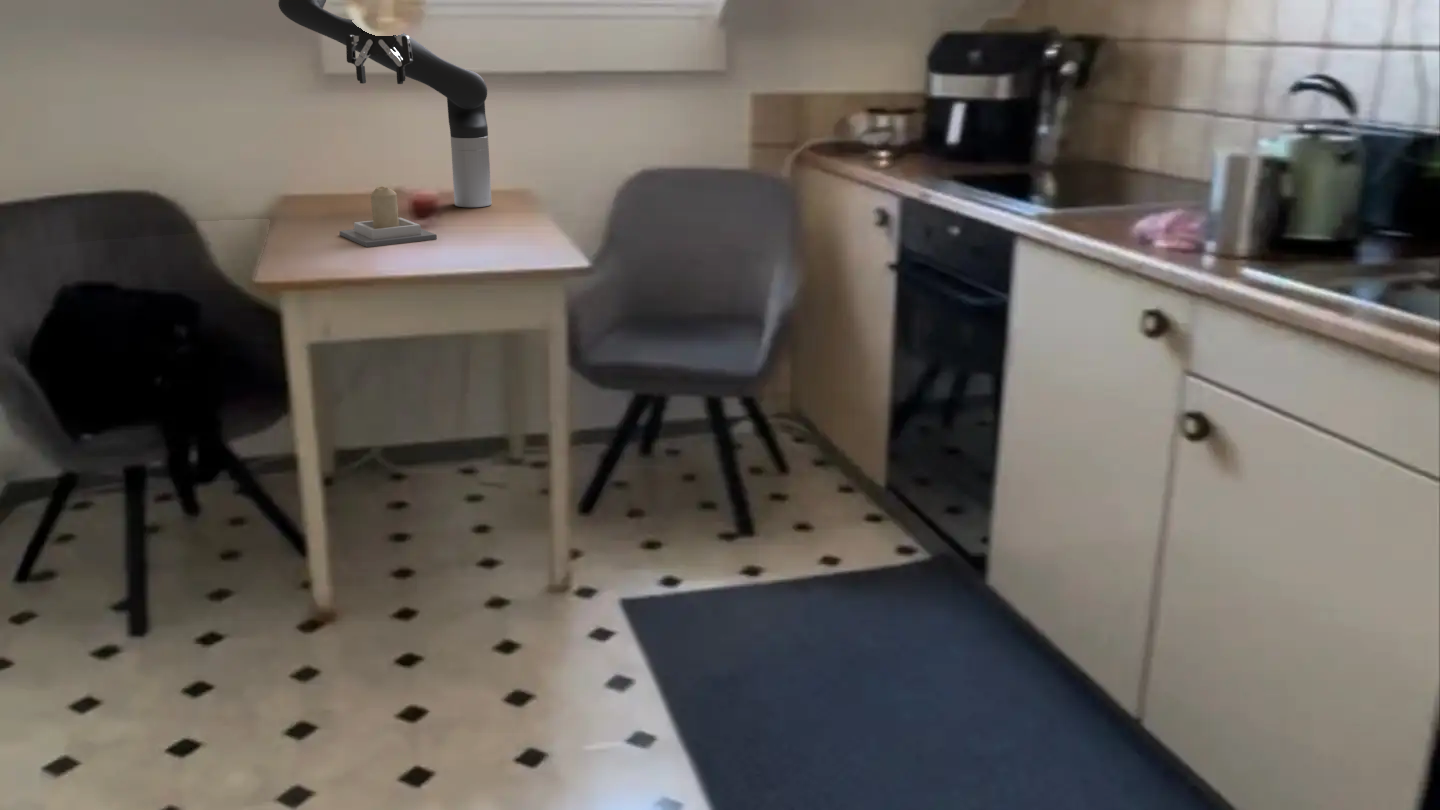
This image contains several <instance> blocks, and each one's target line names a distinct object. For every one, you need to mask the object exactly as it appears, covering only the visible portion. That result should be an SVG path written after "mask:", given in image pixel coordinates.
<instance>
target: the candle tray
mask: <svg viewBox="0 0 1440 810" xmlns="http://www.w3.org/2000/svg"><path fill="white" fill-rule="evenodd" d="M398 218H399V226H398V227H389V228H380V229H374V227H373V220H365V221H364V220H363V221H356V222H355V221H354V222H353V228H352V229H344V230H339V236H340V237H343V238H345V239H347V240H349V241H352V242H354V243H357V244H358V245H361V246H363V247H366V248H371V247H373V248H374V247H380V246H387V245H388V246H389V245H397V244H407V243H414V242H422V241H424V242H425V241H430V240H431V241H432V240H437V238H438V237H437V234H436V233H434V232H430V231H428V230H426V229H423V228H422V227H421V224H419V223H417V222H413V221H411V220H408V219H406V218H403V217H398Z"/></svg>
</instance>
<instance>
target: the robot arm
mask: <svg viewBox="0 0 1440 810" xmlns="http://www.w3.org/2000/svg"><path fill="white" fill-rule="evenodd" d="M326 2H327V0H278V8H279V10H280V12H281V13H282V14H283V16H285V17H286V18H287V19H289V20H290V21H292V22H294V23H295V24H297V25H299V26H301V27H303V28H306V29H308V30H311V31H313V32H315V33H317V34H320V35H322V36H325V37H327V38H329V39H331V40H333V41H336V42H338V43H340V44H342V45H344V46H346V47H345V48H346V53H345V54H346V62H347V63H348V64H353V66H355V70H356V71H355V72H356V79H357V81H359V84H366V82H367V79H366V78H367V77H366V67H365V65H364V64H366V63H365V62H366V61H367V60H368V58H369V59H370V60H372V61H374V62H375V63H377V64H379V65H381V66H383V67H385V68H386V69H389V70H390V71H392V72H395V73H396V83H397V85H403V84H404V82H405V81H406V80H407V79H406V78H409V79H412V80H415V81H416V82H419V83H422V84H424V85H425V86H428V87H430V88H431V89H433V90H434V91H436V92H437V93H439V94H441V95H442V96H444V97H446V101H447V103H446V104H447V115H448V124H449V125H448V126H449V131H450V132H449V133H450V148H451V165H452V168H451V170H452V181H453V182H452V183H453V199H454V206H455V207H459V208H482V207H489V206H491V205H492V187H491V169H490V168H491V167H490V166H491V165H490V150H489V149H490V147H489V131H488V122H487V115H486V99H488V98H487V97H488V87H487V84H486V81H485V80H484V78H483V77H482V76H481V75H480V74H478V73H477V72H475V71H473V70H471V69H465V68H463V67H461V66H458V65H456V64H454V63H452V62H449V61H447V60H445V59H443V58H441V57H440V56H438V55H436V53H434V52H432V50H430V49H428V48H426V47H425V46H424V45H423V44H421V43H420V42H418V41H417V40H416V39H414V38H413V37H412V36H409V35H408V34H406V33H405V32H403V34H401V35H398V36H396V35H393V36H375V35H372V34H369V33H367V32H365V31H363V30H362V29H361V28H359V27H357V26H356V25H355V24H354V23H353V22H352V20H353V19H350V18H344V17H341V16H338V15H336V14H334V13H332V12H329V11H328V10H326V9H324V7H325V4H326ZM356 52H358V53H359V54H358V56H357V57H356V55H357V54H356Z"/></svg>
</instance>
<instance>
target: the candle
mask: <svg viewBox="0 0 1440 810" xmlns="http://www.w3.org/2000/svg"><path fill="white" fill-rule="evenodd" d="M397 195H398V194H397V192H395V191H394V190H393V189H391V188H389V187H385V186H379V187H376V188H375V189H374V190H373V191H372V192H371V194H370V200H371V201H370V203H371V204H370V205H371V216H372V221H373V227H374V229H380V228H389V227H398V226H399V218H400V217H399V209H398V196H397Z"/></svg>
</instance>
